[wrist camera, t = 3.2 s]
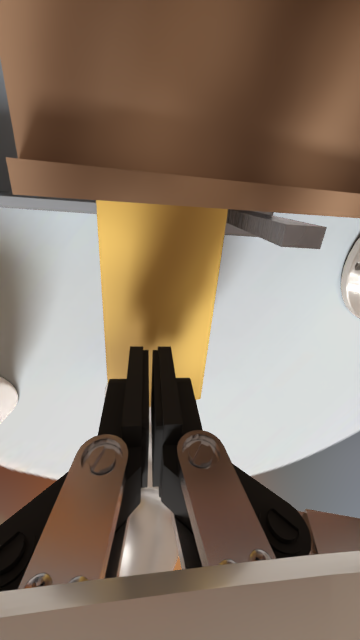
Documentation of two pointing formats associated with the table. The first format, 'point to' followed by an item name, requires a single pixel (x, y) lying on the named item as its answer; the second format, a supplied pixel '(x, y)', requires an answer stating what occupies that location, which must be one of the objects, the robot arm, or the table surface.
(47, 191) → the lever chute
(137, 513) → the plastic bottle
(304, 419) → the table surface
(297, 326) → the table surface
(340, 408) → the table surface
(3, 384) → the beer glass
